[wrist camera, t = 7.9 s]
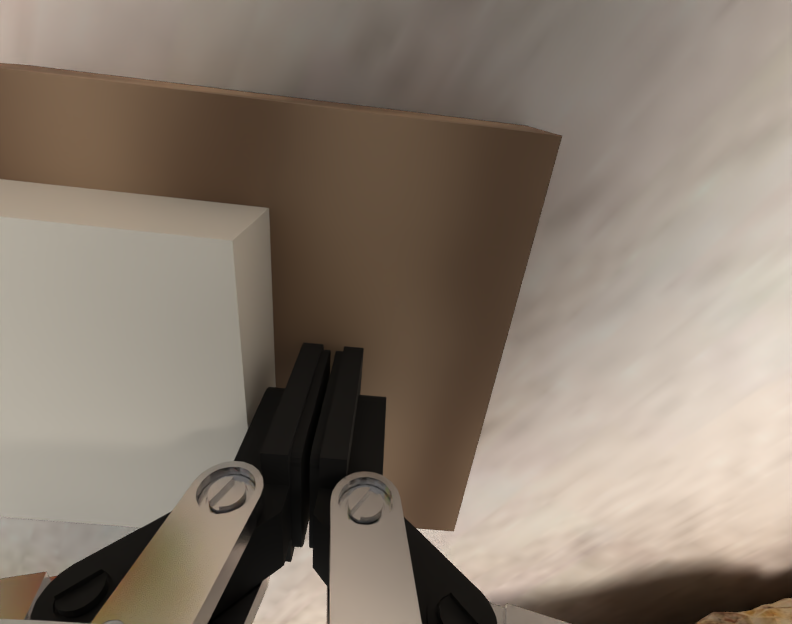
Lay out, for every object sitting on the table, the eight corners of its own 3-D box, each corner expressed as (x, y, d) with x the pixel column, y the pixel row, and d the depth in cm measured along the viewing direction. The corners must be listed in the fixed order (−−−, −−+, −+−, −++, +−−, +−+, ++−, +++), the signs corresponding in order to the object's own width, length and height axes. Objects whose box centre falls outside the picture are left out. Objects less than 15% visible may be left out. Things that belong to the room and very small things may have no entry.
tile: (269, 208, 10) (232, 240, 8) (278, 468, 14) (256, 536, 12) (-118, 166, 10) (-268, 188, 8) (8, 445, 14) (-65, 512, 12)
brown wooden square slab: (526, 125, 12) (561, 136, 9) (446, 468, 19) (453, 531, 16) (23, 64, 11) (-91, 57, 9) (124, 440, 18) (76, 500, 15)
